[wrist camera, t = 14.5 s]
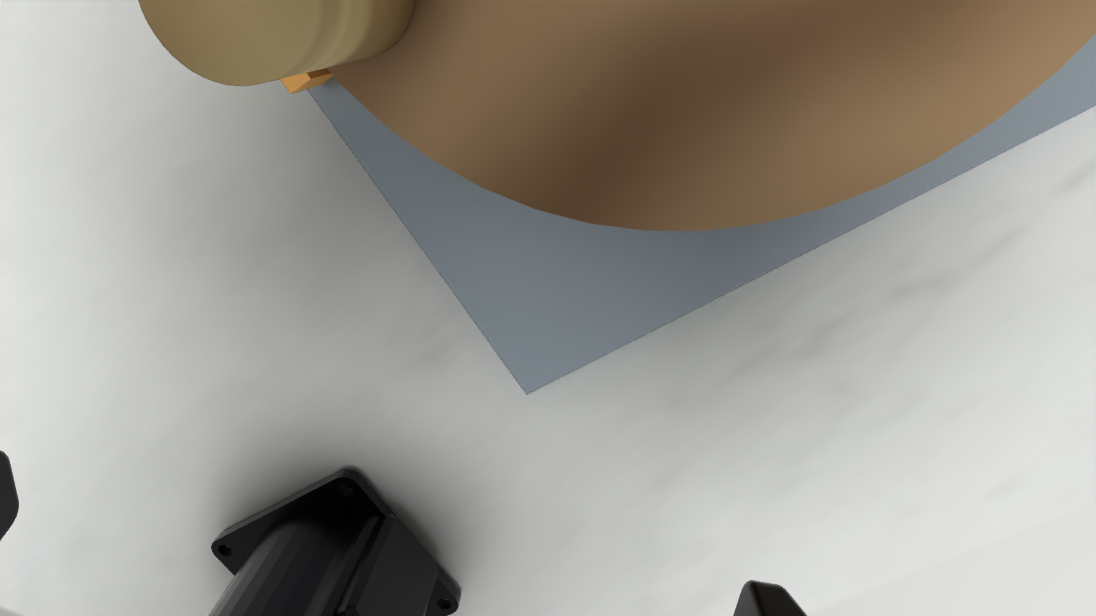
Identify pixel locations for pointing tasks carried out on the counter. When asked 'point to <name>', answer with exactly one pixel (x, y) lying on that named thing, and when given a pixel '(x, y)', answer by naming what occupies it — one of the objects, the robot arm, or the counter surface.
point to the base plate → (624, 235)
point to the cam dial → (653, 89)
